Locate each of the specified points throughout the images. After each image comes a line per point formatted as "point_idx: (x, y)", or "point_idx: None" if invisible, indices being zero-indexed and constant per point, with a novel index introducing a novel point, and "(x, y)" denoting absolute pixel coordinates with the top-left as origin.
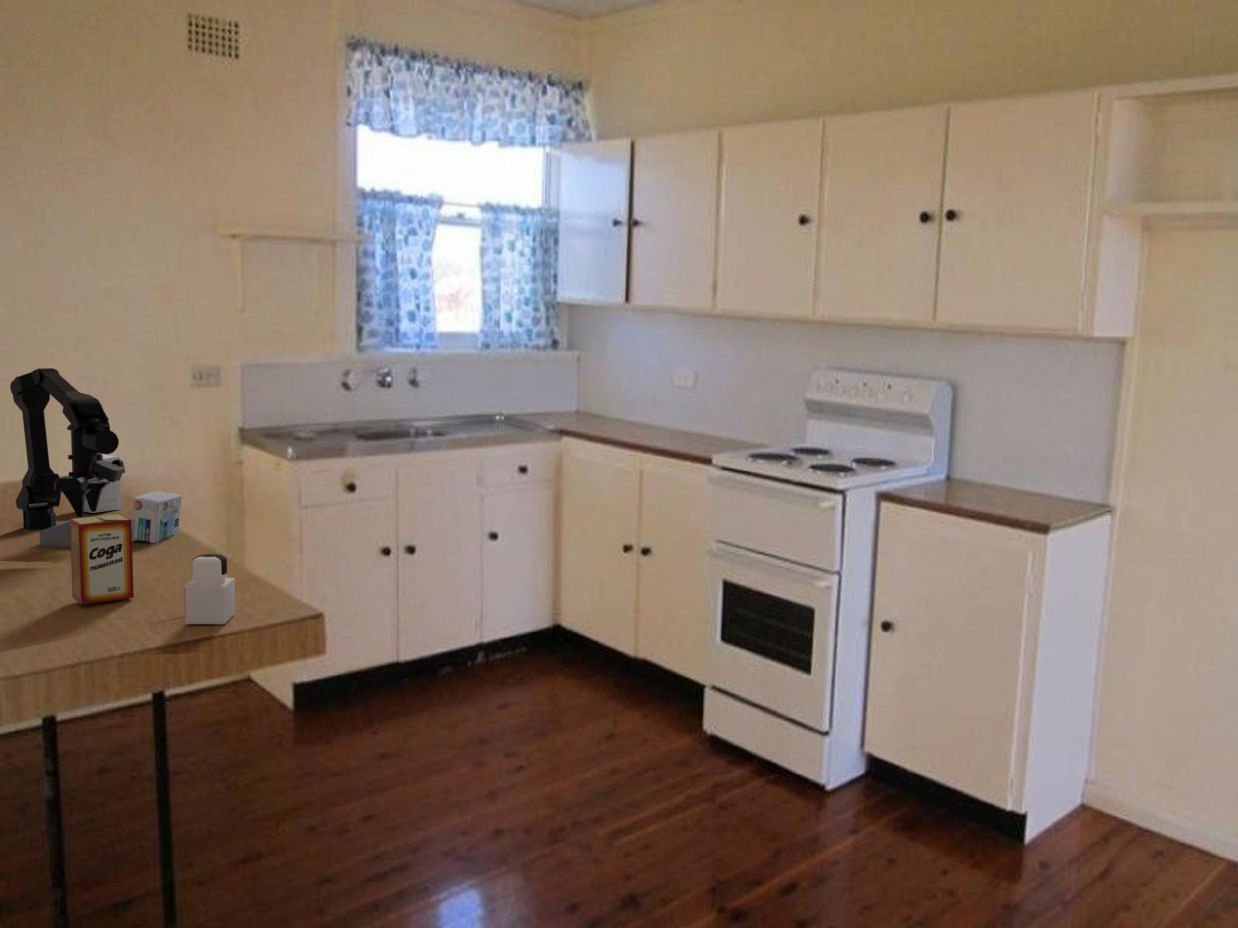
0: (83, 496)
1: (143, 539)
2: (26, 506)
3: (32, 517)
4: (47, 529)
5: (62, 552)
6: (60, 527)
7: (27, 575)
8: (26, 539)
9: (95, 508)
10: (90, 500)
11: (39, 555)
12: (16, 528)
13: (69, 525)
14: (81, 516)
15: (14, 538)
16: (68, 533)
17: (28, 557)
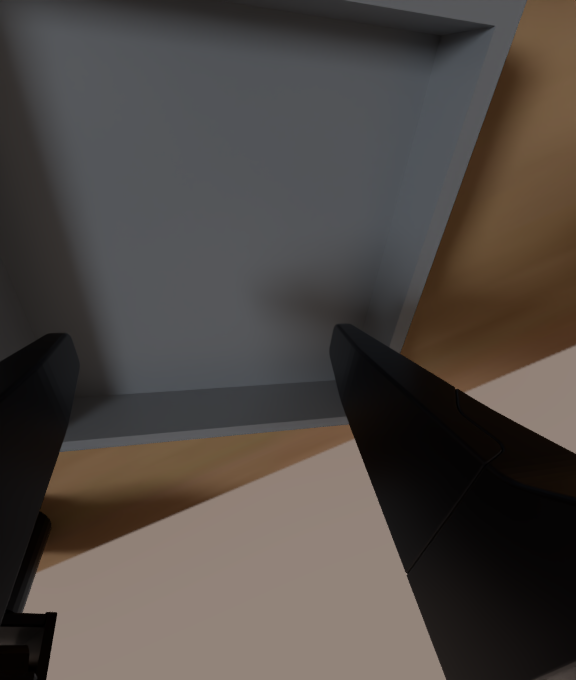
0: (546, 462)
1: None
2: (52, 633)
3: (31, 572)
4: (329, 417)
5: (502, 238)
6: (195, 417)
7: None
8: (232, 457)
9: (56, 349)
10: (30, 467)
11: (529, 299)
12: (61, 551)
13: (90, 419)
14: (349, 326)
15: (222, 487)
16: (414, 300)
17: (550, 318)
